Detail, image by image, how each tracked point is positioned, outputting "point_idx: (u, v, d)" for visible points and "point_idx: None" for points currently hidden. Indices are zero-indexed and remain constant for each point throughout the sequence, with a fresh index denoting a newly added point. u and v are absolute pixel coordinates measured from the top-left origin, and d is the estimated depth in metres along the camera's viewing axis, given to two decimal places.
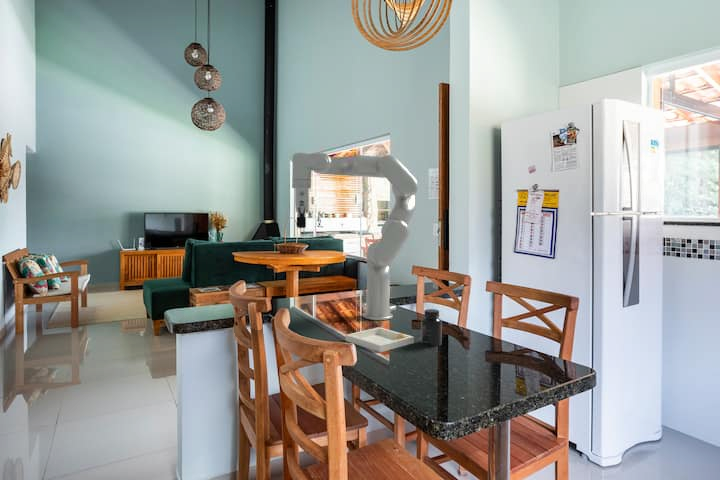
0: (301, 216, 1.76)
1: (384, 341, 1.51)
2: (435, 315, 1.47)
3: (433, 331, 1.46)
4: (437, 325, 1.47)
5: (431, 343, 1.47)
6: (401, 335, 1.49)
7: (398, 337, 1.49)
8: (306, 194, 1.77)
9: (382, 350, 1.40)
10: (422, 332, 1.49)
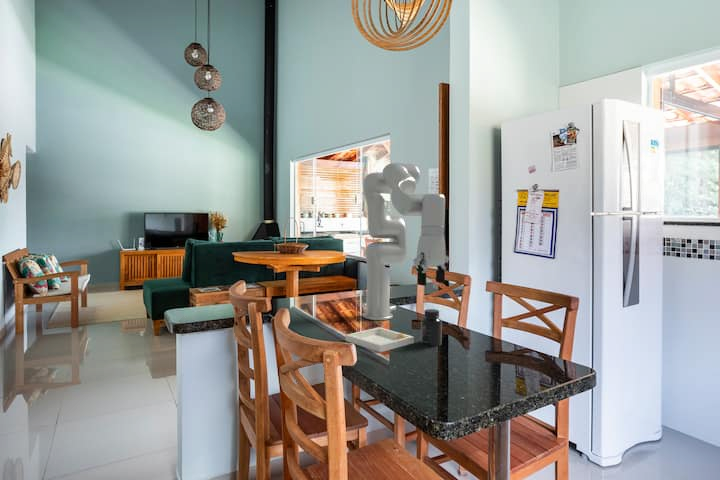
0: None
1: (384, 341, 1.51)
2: (435, 315, 1.47)
3: (433, 331, 1.46)
4: (437, 325, 1.47)
5: (431, 343, 1.47)
6: (401, 335, 1.49)
7: (398, 337, 1.49)
8: None
9: (382, 350, 1.40)
10: (422, 332, 1.49)
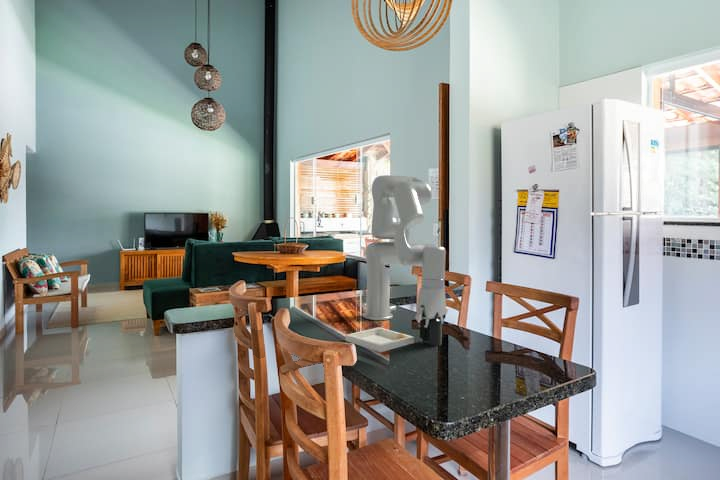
0: None
1: (384, 341, 1.51)
2: (435, 315, 1.47)
3: (433, 331, 1.46)
4: (437, 325, 1.47)
5: (431, 342, 1.47)
6: (401, 335, 1.49)
7: (398, 337, 1.49)
8: None
9: (382, 350, 1.40)
10: None
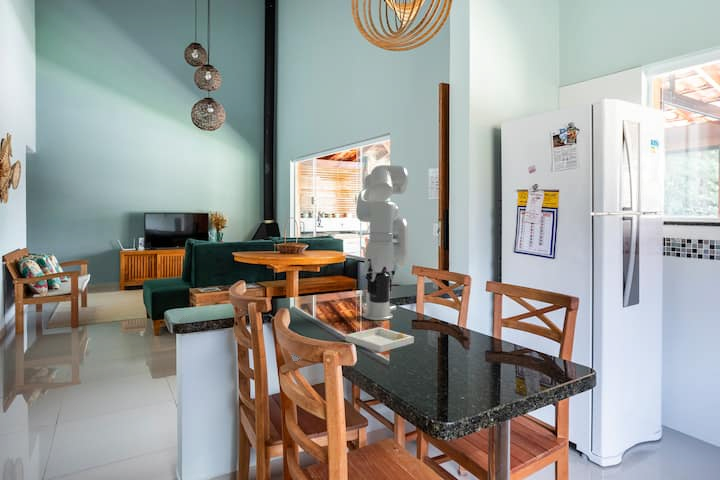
0: None
1: (384, 341, 1.51)
2: (382, 269, 1.47)
3: (380, 285, 1.46)
4: (384, 279, 1.47)
5: (378, 296, 1.47)
6: (401, 335, 1.49)
7: (398, 337, 1.49)
8: None
9: (382, 350, 1.40)
10: None
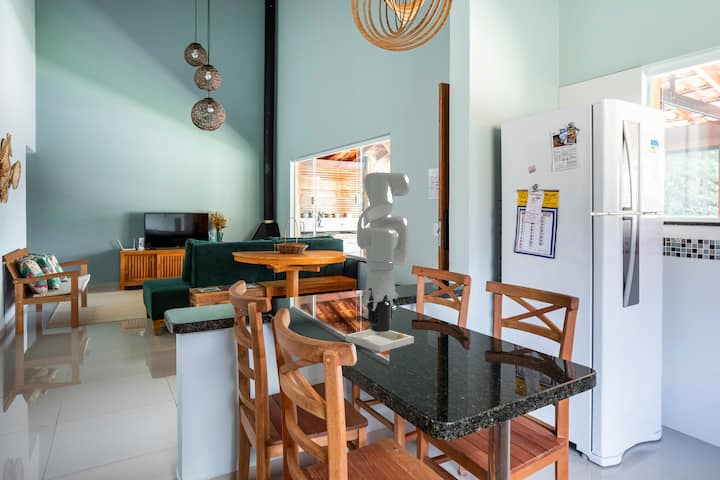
0: None
1: (384, 341, 1.51)
2: (383, 298, 1.47)
3: (381, 314, 1.46)
4: (386, 308, 1.47)
5: (379, 326, 1.47)
6: (401, 335, 1.49)
7: (398, 337, 1.49)
8: None
9: (382, 350, 1.40)
10: None
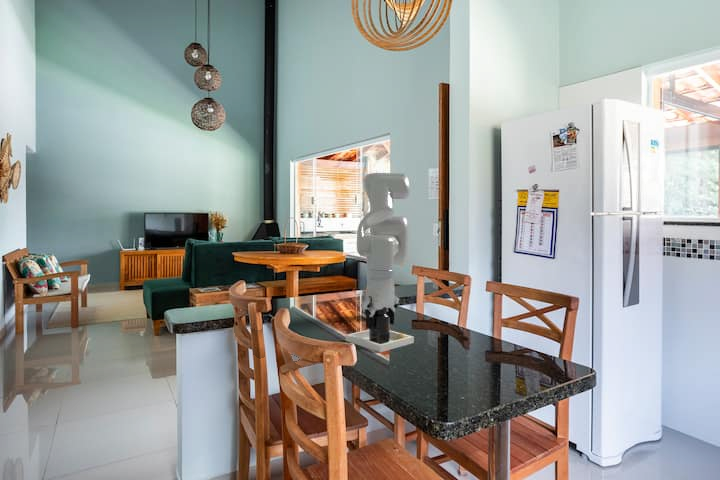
0: None
1: None
2: (382, 310, 1.47)
3: (380, 326, 1.47)
4: (384, 320, 1.47)
5: (378, 338, 1.47)
6: (401, 335, 1.49)
7: (398, 337, 1.49)
8: None
9: (382, 350, 1.40)
10: None
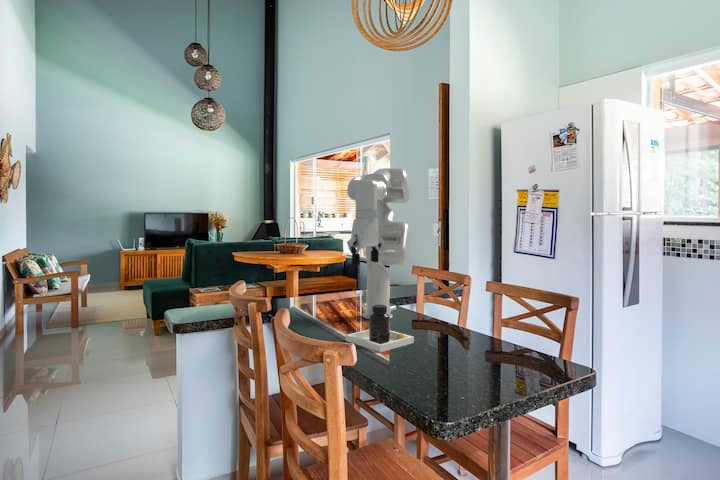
0: None
1: None
2: (382, 310, 1.47)
3: (380, 326, 1.47)
4: (384, 320, 1.47)
5: (378, 338, 1.47)
6: (401, 335, 1.49)
7: (398, 337, 1.49)
8: None
9: (382, 350, 1.40)
10: (370, 327, 1.49)
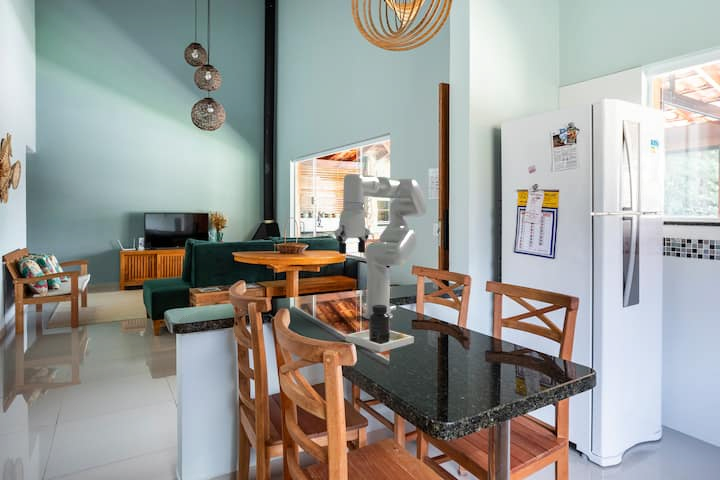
0: None
1: None
2: (382, 310, 1.47)
3: (380, 326, 1.47)
4: (384, 320, 1.47)
5: (378, 338, 1.47)
6: (401, 335, 1.49)
7: (398, 337, 1.49)
8: None
9: (382, 350, 1.40)
10: (370, 327, 1.49)
